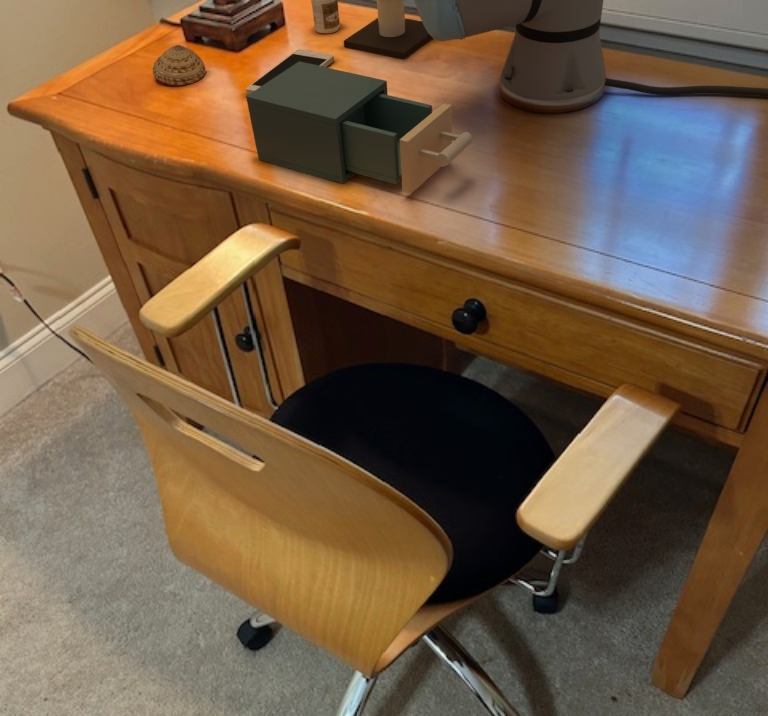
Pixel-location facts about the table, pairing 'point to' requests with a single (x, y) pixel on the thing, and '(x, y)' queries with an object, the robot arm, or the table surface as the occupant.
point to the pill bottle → (326, 15)
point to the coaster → (389, 40)
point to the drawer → (400, 140)
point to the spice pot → (391, 17)
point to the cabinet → (308, 117)
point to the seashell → (178, 66)
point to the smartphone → (292, 59)
